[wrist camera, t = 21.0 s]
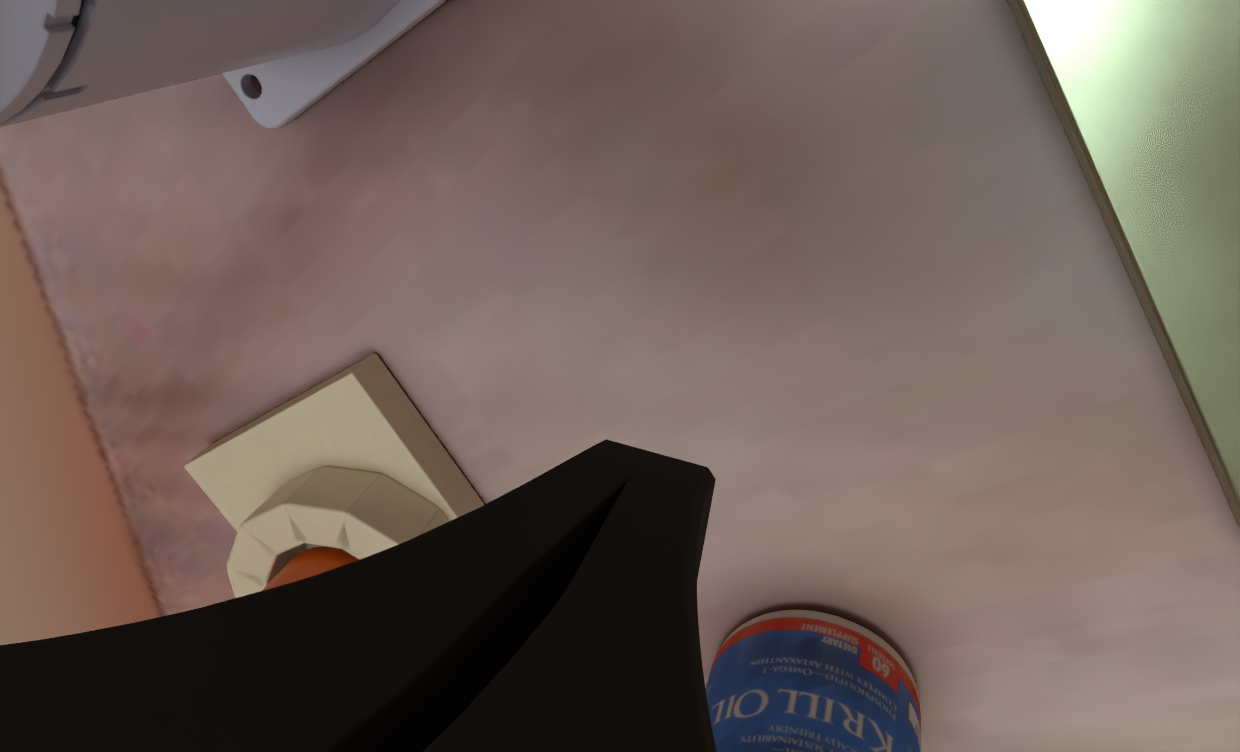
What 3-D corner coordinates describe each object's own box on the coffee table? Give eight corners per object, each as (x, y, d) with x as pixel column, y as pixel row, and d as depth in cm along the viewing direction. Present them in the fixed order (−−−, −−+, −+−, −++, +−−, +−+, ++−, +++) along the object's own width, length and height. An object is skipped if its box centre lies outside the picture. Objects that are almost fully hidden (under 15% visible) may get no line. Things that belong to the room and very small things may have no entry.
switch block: (210, 444, 26) (134, 502, 24) (375, 352, 23) (309, 407, 20) (409, 693, 29) (361, 770, 26) (583, 641, 26) (547, 722, 23)
